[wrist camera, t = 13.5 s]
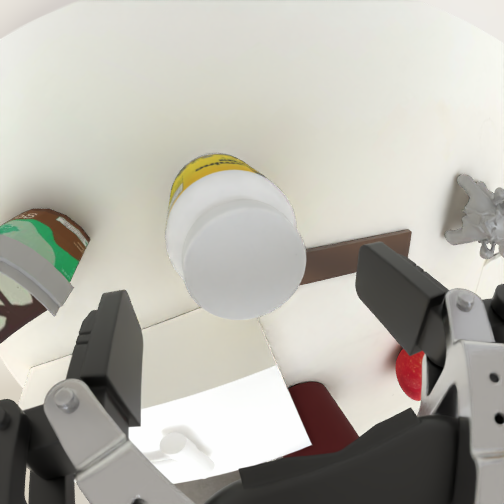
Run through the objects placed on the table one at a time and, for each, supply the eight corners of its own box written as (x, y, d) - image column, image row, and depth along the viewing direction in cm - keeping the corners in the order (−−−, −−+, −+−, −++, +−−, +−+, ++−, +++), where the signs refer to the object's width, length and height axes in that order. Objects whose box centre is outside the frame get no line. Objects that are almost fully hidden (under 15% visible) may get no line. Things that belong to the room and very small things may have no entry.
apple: (387, 340, 33) (432, 396, 24) (435, 315, 34) (481, 360, 25) (380, 378, 37) (415, 428, 28) (425, 354, 38) (461, 397, 29)
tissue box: (285, 384, 31) (319, 463, 22) (106, 435, 30) (104, 506, 20) (246, 289, 24) (288, 393, 15) (30, 367, 23) (5, 450, 13)
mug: (255, 434, 35) (277, 500, 26) (230, 407, 31) (251, 488, 21) (335, 400, 36) (369, 462, 26) (324, 366, 32) (367, 441, 22)
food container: (63, 158, 17) (-16, 197, 8) (105, 229, 20) (62, 311, 11) (-27, 242, 16) (-90, 306, 8) (10, 296, 19) (-36, 375, 11)
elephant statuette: (442, 175, 24) (500, 199, 18) (496, 161, 26) (543, 179, 19) (438, 254, 29) (484, 287, 22) (491, 226, 30) (532, 250, 23)
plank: (247, 260, 23) (249, 263, 23) (408, 229, 26) (411, 231, 25) (251, 291, 25) (252, 295, 24) (404, 256, 27) (407, 258, 27)
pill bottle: (269, 167, 21) (351, 217, 11) (239, 244, 23) (288, 343, 13) (186, 140, 18) (191, 162, 9) (159, 224, 20) (147, 321, 11)
